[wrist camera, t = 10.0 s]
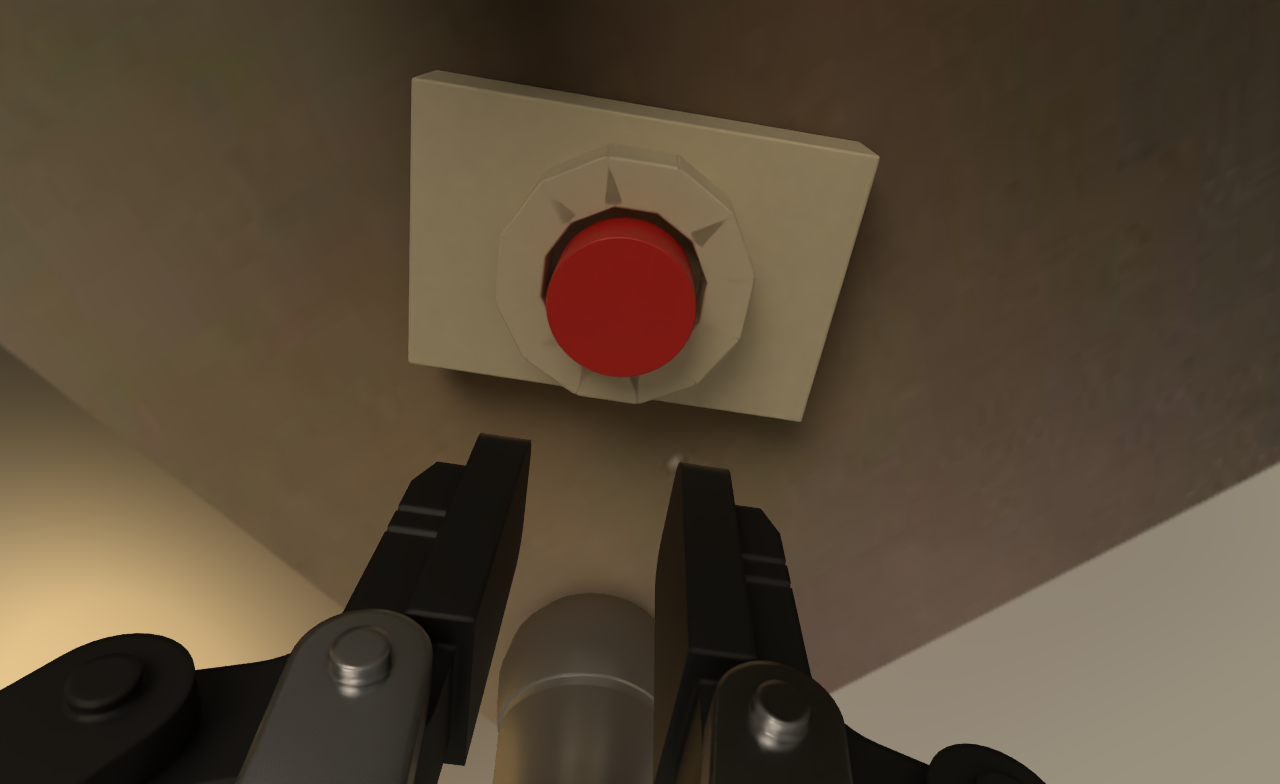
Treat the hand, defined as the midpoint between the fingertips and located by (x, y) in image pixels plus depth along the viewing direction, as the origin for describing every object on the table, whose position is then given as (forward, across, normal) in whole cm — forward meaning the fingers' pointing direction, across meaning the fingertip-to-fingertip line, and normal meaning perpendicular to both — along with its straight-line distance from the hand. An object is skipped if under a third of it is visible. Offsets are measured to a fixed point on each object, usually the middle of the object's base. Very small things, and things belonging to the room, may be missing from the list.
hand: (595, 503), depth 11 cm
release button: (+9, 0, 0) cm, 9 cm away
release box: (+13, 0, 0) cm, 13 cm away
